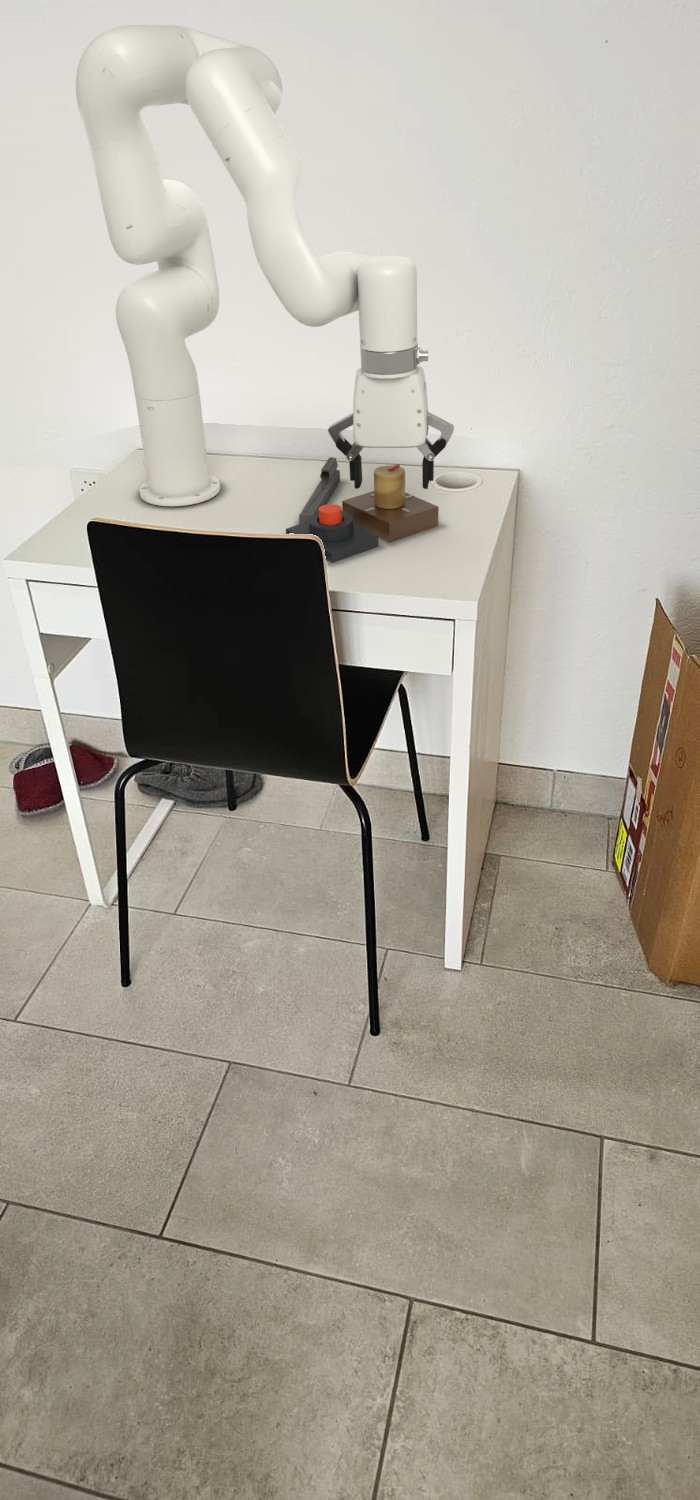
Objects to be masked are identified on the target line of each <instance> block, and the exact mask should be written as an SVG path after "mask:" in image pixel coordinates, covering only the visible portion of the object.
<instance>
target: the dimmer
mask: <svg viewBox="0 0 700 1500" xmlns="http://www.w3.org/2000/svg"><path fill="white" fill-rule="evenodd" d="M341 507H342V512H345V513H348V514H350V515H352V518H353V525H354V526H356V527H358V528H360V529H362V530H364V531H366V532H368V533H370V534H373V535H375V536H377V537H378V539H380V540H383V541H385V542H387V543H389V544H390V543H394V542H396V541H399V540H402V539H405V538H408V537H411V536H415V535H416V534H419V533H423V532H425V531H428V530H430V529H435V528H437V527H439V505H436V504H433V503H431V502H429V501H428V500H424V499H422V498H419V497H417V496H415V495H413V494H410V493H408V492H406V491H405V504H404V505H403V506H402V507H399V508H394V509H384V508H379V507H377V506H376V505H375V503H374V490H373V491H369V492H366V493H363V494H360V495H356V496H354V497H350V498H347V499H344V500H342V501H341Z"/></svg>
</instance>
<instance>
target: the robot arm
mask: <svg viewBox="0 0 700 1500" xmlns="http://www.w3.org/2000/svg"><path fill="white" fill-rule="evenodd" d="M75 96H76V102H77V107H78V111H79V115H80V118H81V119H80V120H81V122H82V125H83V129H84V131H85V136H86V139H87V142H88V145H89V148H90V152H91V157H92V161H93V166H94V172H95V178H96V182H97V186H98V187H97V188H98V192H99V196H100V201H101V206H102V210H103V214H104V219H105V223H106V228H107V232H108V236H109V240H110V243H111V246H112V248H113V250H114V252H115V253H116V255H117V256H118V257H119V258H120V259H121V260H122V261H124V262H126V263H128V264H131V265H136V266H141V265H147V264H153V263H157V268H158V270H156V271H152V272H149V273H147V274H144V275H141V276H138V277H137V278H134V279H133V280H131V281H130V282H128V283H127V284H126V285H125V286H124V287H123V289H122V290H121V292H120V293H119V295H118V297H117V299H116V304H115V318H116V320H115V321H116V324H117V328H118V331H119V335H120V337H121V340H122V343H123V345H124V350H125V352H126V355H127V359H128V363H129V369H130V373H131V380H132V385H133V392H134V398H135V403H136V404H135V405H136V411H137V416H138V418H137V419H138V424H139V430H140V437H141V443H142V451H143V456H144V457H143V458H144V460H143V462H142V465H143V467H144V468H145V469H146V477H147V480H146V481H144V482H143V483H141V485H140V486H139V489H138V490H139V496H140V498H141V500H143V502H145V503H148V504H150V505H154V506H159V507H183V506H185V507H186V506H191V505H196V504H201V503H203V502H206V501H208V500H211V499H213V498H214V497H215V496H217V495H218V494H219V493H220V491H221V481H220V480H219V478H217V477H216V476H215V475H213V474H210V471H209V461H208V455H207V454H208V453H207V446H206V445H207V444H206V437H205V428H204V420H203V412H202V403H201V402H202V401H201V394H200V387H199V378H198V373H197V369H196V365H195V362H194V359H193V358H192V356H191V353H190V351H189V349H188V346H187V345H186V340H185V339H187V338H188V337H191V336H193V335H195V334H198V333H199V332H202V331H203V330H205V329H207V328H208V327H209V326H211V325H212V323H213V322H214V321H215V319H216V318H217V315H218V312H219V309H220V289H219V282H218V275H217V270H216V263H215V258H214V252H213V245H212V240H211V233H210V228H209V223H208V218H207V215H206V212H205V210H204V209H205V208H204V207H203V204H202V202H201V201H200V199H199V197H198V196H197V194H196V193H195V192H194V191H193V190H192V189H191V188H190V187H189V186H188V185H187V184H185V183H183V182H181V181H179V180H174V179H170V178H169V179H167V178H166V179H163V178H162V177H163V176H162V173H161V169H160V163H159V157H158V155H159V154H158V150H157V147H156V144H155V141H154V138H153V136H152V134H151V131H150V130H149V128H148V126H147V125H146V123H145V121H144V119H143V118H142V116H141V111H142V110H143V109H145V108H147V107H157V106H166V105H174V104H175V105H176V104H183V105H187V106H189V107H190V109H191V112H192V113H193V115H194V116H195V119H196V120H197V122H198V124H199V125H200V127H201V129H202V131H203V132H204V134H205V136H206V137H207V139H208V140H209V143H210V144H211V146H212V148H214V150H215V152H216V154H217V156H218V157H219V159H220V161H221V162H222V165H223V166H224V169H226V171H227V173H228V174H229V177H230V178H231V179H232V181H233V183H234V185H235V186H236V188H237V190H238V191H239V193H240V195H241V197H242V199H243V201H244V202H245V206H246V207H245V208H246V215H247V225H248V229H249V235H250V239H251V244H252V249H253V252H254V255H255V258H256V260H257V262H258V265H259V268H260V269H261V271H262V274H263V275H264V277H265V279H266V280H267V282H268V283H269V285H270V287H271V288H272V291H273V292H274V293H275V295H276V297H277V298H278V300H279V301H280V303H281V304H282V307H283V308H284V309H285V310H286V311H287V312H288V314H289V315H290V316H291V317H292V318H293V319H295V320H296V321H297V322H298V323H299V324H302V325H304V326H306V327H310V328H312V327H313V328H318V327H323V326H325V325H328V324H330V323H332V322H333V321H336V320H338V319H339V318H341V317H345V316H347V315H349V314H352V313H356V312H358V325H359V326H358V327H359V345H360V346H359V350H360V351H359V353H360V367H359V368H357V369H356V373H355V379H354V380H355V381H354V389H353V406H352V408H353V409H352V413H349V414H348V415H346V416H344V417H343V418H341V419H339V420H337V421H335V422H333V423H331V424H330V425H329V427H328V428H327V432H328V435H329V436H330V438H331V439H332V441H333V443H334V444H335V448H337V450H338V451H340V453H342V454H343V455H344V456H345V458H346V460H348V461H349V462H348V463H349V465H348V466H349V481H351V482H353V483H354V489H356V490H357V489H360V488H361V485H362V483H363V464H362V461H363V460H362V455H361V454H360V453H361V452H362V450H363V449H364V448H367V449H412V448H416V449H417V450H418V451H419V453H421V455H422V456H423V458H422V462H421V463H422V465H421V466H422V467H421V468H422V471H421V472H422V475H421V476H422V479H421V480H422V489H424V490H428V489H429V486H430V485H429V484H430V482H434V476H435V472H434V471H435V466H434V465H435V463H434V462H435V458H436V457H437V456H438V455H439V454H440V453H441V452H442V451H443V450H445V448H446V446H447V444H448V443H449V441H450V439H451V437H452V435H453V433H454V431H455V425H454V424H453V423H450V422H449V421H447V420H445V419H443V418H441V417H439V416H437V415H435V414H434V413H431V412H429V400H428V389H427V381H426V376H425V371H424V368H423V367H422V366H420V363H423V362H429V350H428V349H427V350H424V349H421V348H420V347H419V343H418V275H417V274H418V273H417V267H416V264H415V262H414V261H413V260H412V259H411V258H410V257H407V256H404V255H392V254H390V255H389V254H387V255H378V256H377V255H376V256H373V255H368V254H364V253H363V254H362V253H358V252H354V251H347V250H337V251H333V252H330V253H328V254H325V255H321V256H319V257H318V256H317V255H316V252H315V251H314V249H313V248H312V246H311V244H310V242H309V240H308V239H307V237H306V235H305V233H304V231H303V228H302V225H301V223H300V220H299V217H298V213H297V204H296V197H297V196H296V195H297V190H298V186H299V182H300V177H301V175H302V171H303V165H302V160H301V157H300V156H299V154H298V152H297V151H296V149H295V148H294V146H293V144H292V141H291V140H290V138H289V137H288V135H287V133H286V131H285V130H284V128H283V126H282V125H281V123H280V121H279V119H278V117H277V115H276V114H277V113H278V111H279V110H280V106H281V103H282V99H283V84H282V79H281V75H280V73H279V71H278V69H277V67H276V65H275V63H274V62H273V61H272V60H271V59H270V57H269V56H268V55H266V54H265V53H264V52H263V51H261V50H259V49H258V48H256V47H253V46H250V45H246V44H243V43H238V42H235V41H232V40H229V39H225V38H222V37H219V36H216V35H212V34H209V33H206V32H204V31H203V32H202V31H200V30H196V29H193V28H189V27H186V26H181V25H174V24H173V25H171V24H159V25H157V24H156V25H155V24H153V25H152V24H151V25H149V24H148V25H147V24H132V25H131V24H129V25H122V26H117V27H114V28H110V29H108V30H105V31H103V32H101V33H100V34H99V35H97V36H96V37H94V38H93V39H92V40H91V41H90V43H89V44H88V45H87V46H86V48H85V49H84V50H83V53H82V54H81V57H80V59H79V62H78V66H77V69H76V76H75ZM350 427H352V434H353V441H354V442H353V443H352V444H351V443H350V442H349V441H348V440H347V439H346V438H345V437H344V435H343V433H342V431H345V430H347V429H348V428H350ZM429 427H431V428H433V429H436V430H438V431H440V433H441V434H440V435H439V437H438V438H437V440H435V441H434V442H433V443H432V442H431V441H430V440H429V438H427V436H428V434H429Z"/></svg>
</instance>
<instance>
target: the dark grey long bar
mask: <svg viewBox="0 0 700 1500" xmlns="http://www.w3.org/2000/svg"><path fill="white" fill-rule="evenodd" d="M338 467H339V464H338V461H337V458H336V457H332V456H330V457H328V459H327V460H326V461H325V463H324V465H323V466H322V468H321V471H320V475H319V478H320V481H319V482H318V484H317V486H316V488H315V489H314V491H313V493H312V494H311V495H310V497H309V499H308V500H307V501H306V504H305V506H304V507H303V508H302V510H301V512H300V513H299V514H298V518H299V520H298V521H299V524H302V523H305V522H308V519H309V518H310V517H311V516H312V515H314V514H317V513H319V508H320V507H321V506H323V505H328V504H329V501H330V500H331V497H332V496H333V495H334V493H335V491H336V489H337V488H338V486H339V484H340V483H341V470H340V469H338Z"/></svg>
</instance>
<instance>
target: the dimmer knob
mask: <svg viewBox="0 0 700 1500" xmlns="http://www.w3.org/2000/svg"><path fill="white" fill-rule="evenodd" d="M373 491H374V503H375V505H376V506H377V507H379V508H384V509H394V508H399V507H402V506H403V505H404V504H405V492H406V469H405V468H404V467H402V466H401V464H400V463H396V464H393V465H392V464H391V465H381V466H378V467H375V469H373Z"/></svg>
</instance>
